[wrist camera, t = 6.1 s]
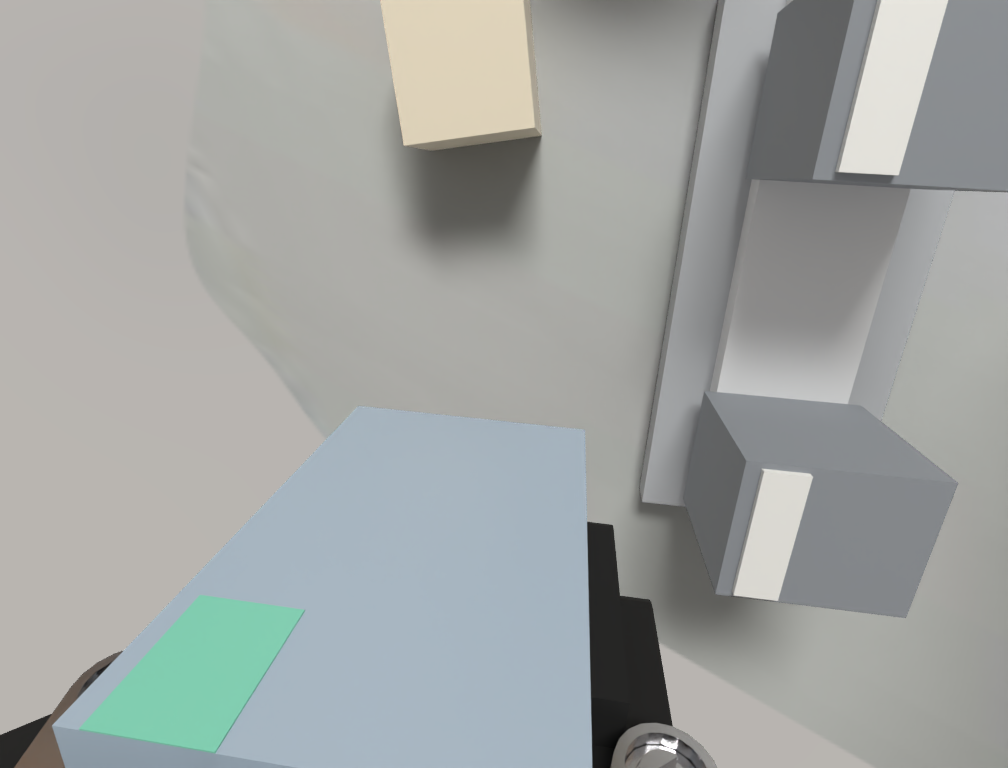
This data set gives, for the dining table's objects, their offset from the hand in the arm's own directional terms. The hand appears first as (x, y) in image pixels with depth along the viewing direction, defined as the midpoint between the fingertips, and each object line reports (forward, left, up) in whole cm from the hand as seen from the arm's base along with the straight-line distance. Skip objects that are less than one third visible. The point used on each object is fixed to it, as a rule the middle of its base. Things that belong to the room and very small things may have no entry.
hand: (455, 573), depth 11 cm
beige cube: (-11, -3, -15) cm, 19 cm away
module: (0, 0, -1) cm, 1 cm away
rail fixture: (-4, +10, -15) cm, 19 cm away
